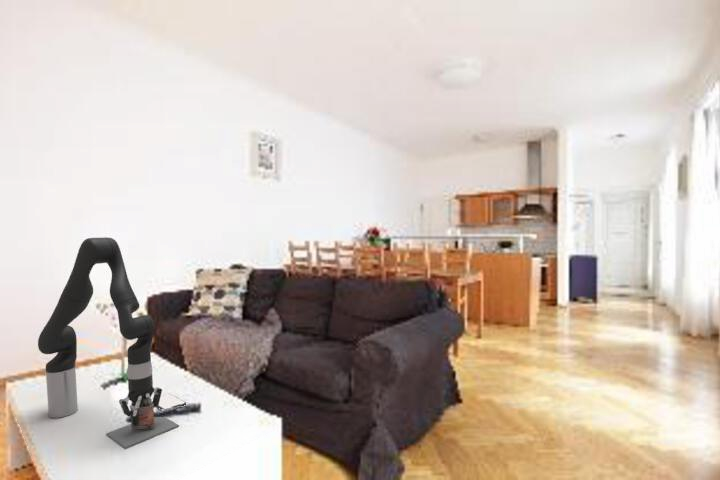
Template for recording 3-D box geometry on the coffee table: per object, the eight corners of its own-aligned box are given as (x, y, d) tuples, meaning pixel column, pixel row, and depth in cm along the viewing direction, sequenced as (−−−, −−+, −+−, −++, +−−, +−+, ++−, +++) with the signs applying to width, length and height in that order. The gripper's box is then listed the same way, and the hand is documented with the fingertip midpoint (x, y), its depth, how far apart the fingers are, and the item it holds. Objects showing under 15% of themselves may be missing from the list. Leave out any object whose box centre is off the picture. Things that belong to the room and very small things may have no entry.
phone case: (147, 403, 171) (164, 414, 160) (147, 399, 171) (164, 410, 160) (169, 396, 177) (187, 406, 166) (169, 392, 177) (187, 402, 166)
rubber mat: (106, 435, 145) (106, 433, 145) (158, 415, 159) (158, 413, 159) (125, 449, 135) (125, 447, 135) (179, 426, 149) (178, 425, 149)
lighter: (129, 428, 146) (127, 400, 145) (134, 423, 149) (133, 395, 148) (151, 428, 145) (149, 400, 144) (156, 423, 149) (155, 396, 148)
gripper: (155, 366, 154) (157, 412, 155) (113, 378, 143) (115, 427, 144) (165, 370, 149) (167, 417, 150) (122, 383, 138) (125, 434, 139)
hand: (142, 422), depth 147 cm, fingers closed on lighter, 4 cm apart
